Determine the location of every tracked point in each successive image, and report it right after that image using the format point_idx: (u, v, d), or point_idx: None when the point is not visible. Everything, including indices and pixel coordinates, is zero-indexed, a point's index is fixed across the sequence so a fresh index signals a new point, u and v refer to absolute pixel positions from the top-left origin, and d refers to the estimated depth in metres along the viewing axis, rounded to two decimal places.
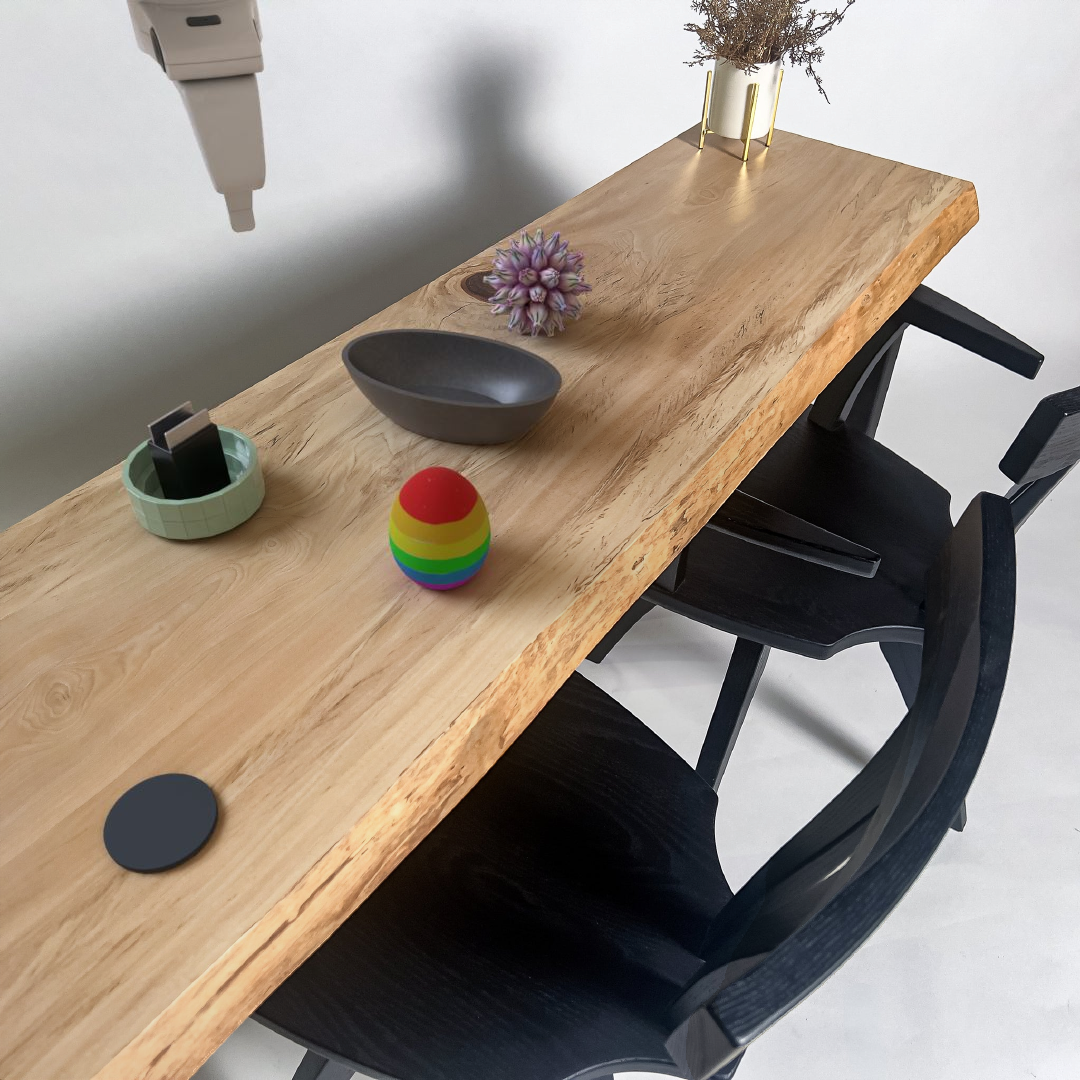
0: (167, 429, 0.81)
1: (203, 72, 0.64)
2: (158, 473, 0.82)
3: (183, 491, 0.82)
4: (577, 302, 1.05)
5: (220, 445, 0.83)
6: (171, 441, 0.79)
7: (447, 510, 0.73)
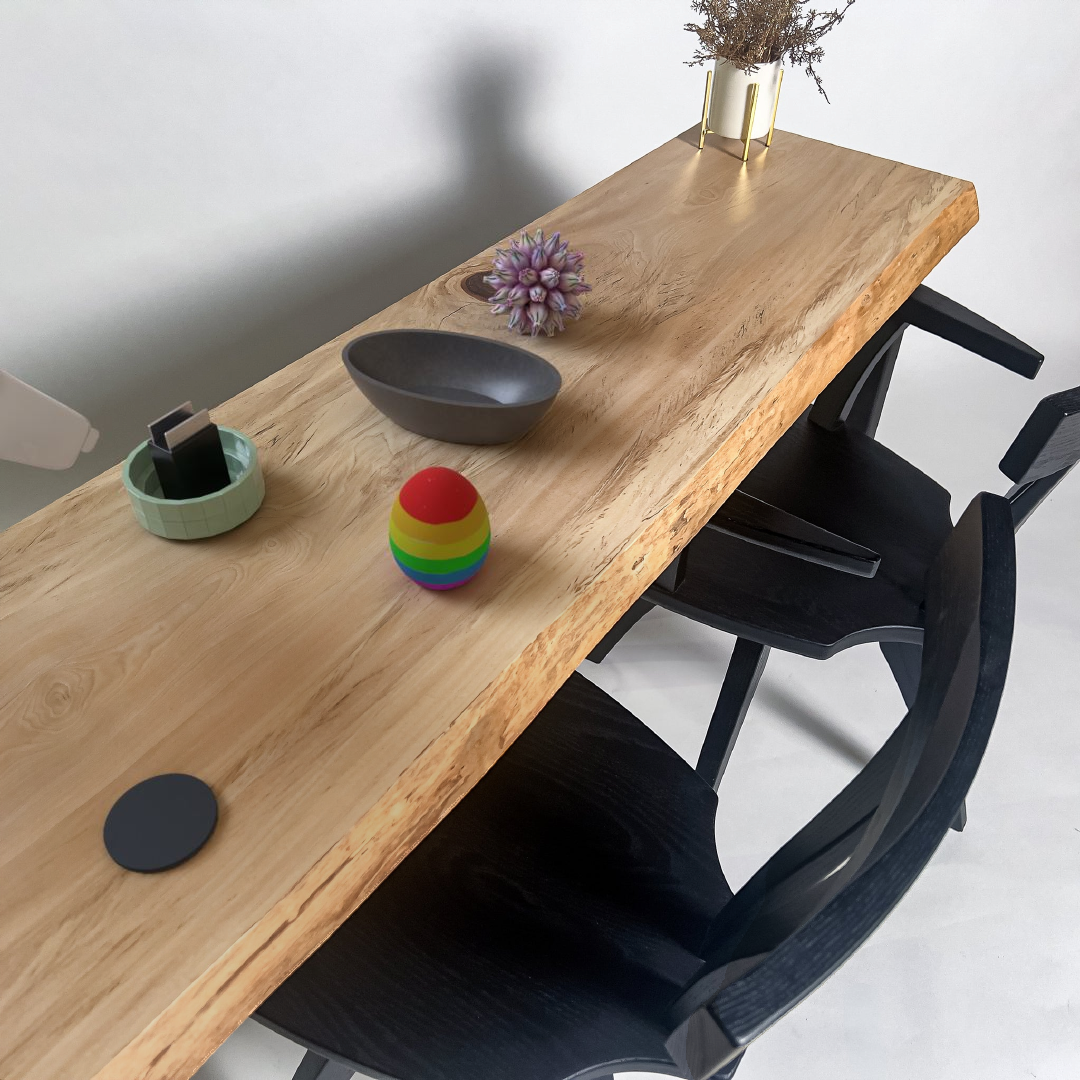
0: (167, 429, 0.81)
1: None
2: (158, 473, 0.82)
3: (183, 491, 0.82)
4: (577, 302, 1.05)
5: (220, 445, 0.83)
6: (171, 441, 0.79)
7: (447, 510, 0.73)
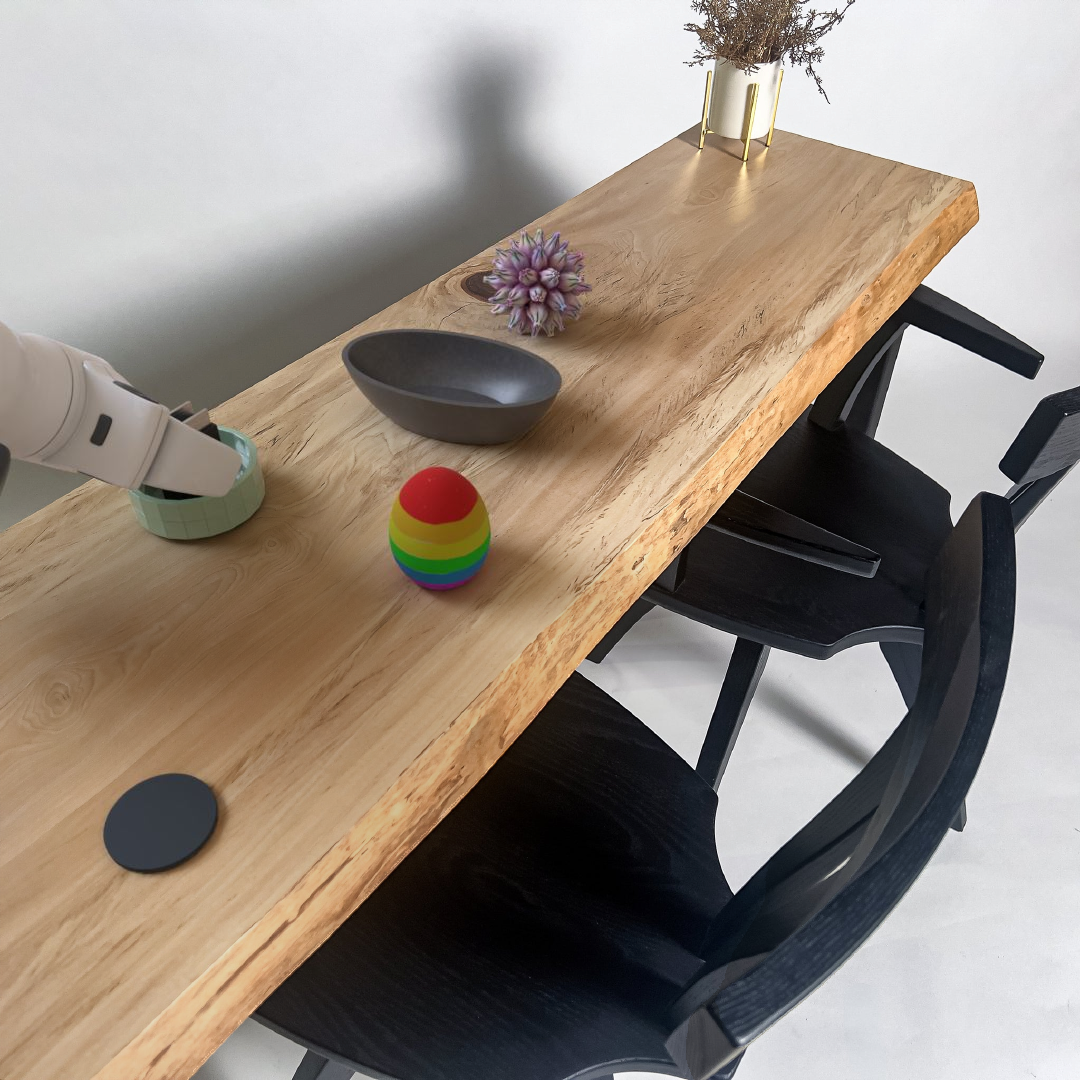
0: None
1: (149, 463, 0.68)
2: None
3: None
4: (577, 302, 1.05)
5: None
6: None
7: (447, 510, 0.73)
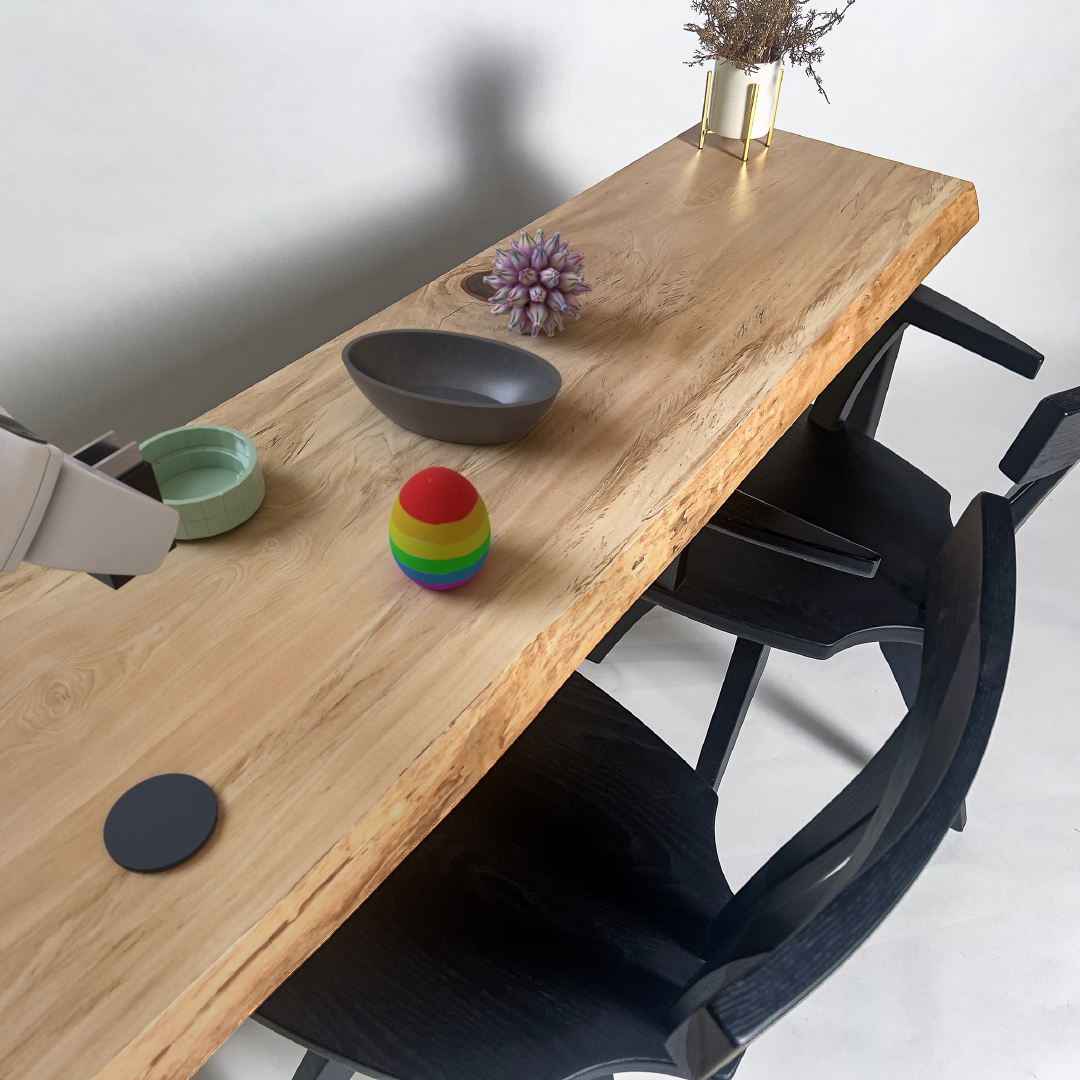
0: None
1: (31, 533, 0.45)
2: None
3: None
4: (577, 302, 1.05)
5: (157, 490, 0.61)
6: None
7: (447, 510, 0.73)
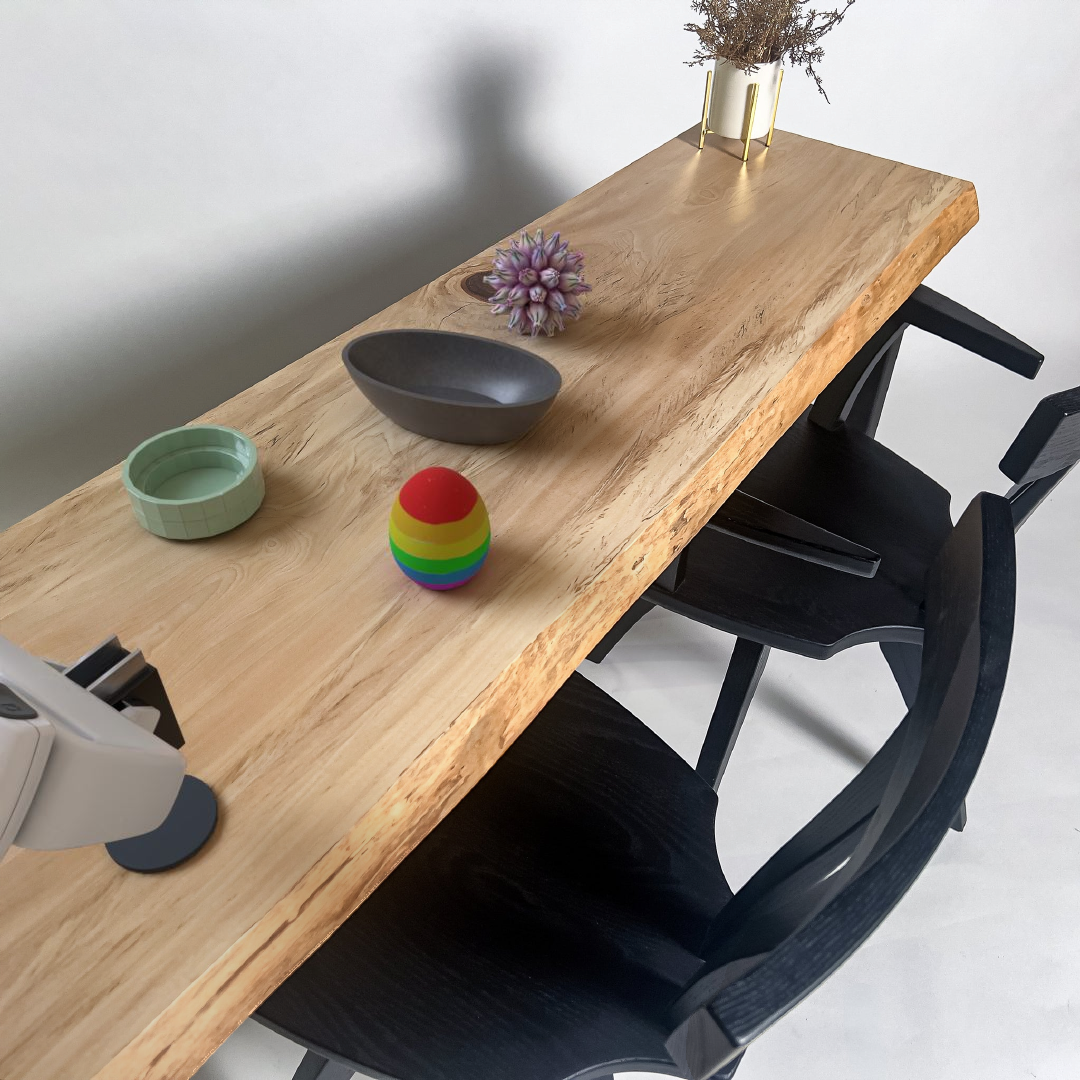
0: (79, 682, 0.53)
1: (19, 821, 0.40)
2: None
3: None
4: (577, 302, 1.05)
5: (163, 694, 0.55)
6: None
7: (447, 510, 0.73)
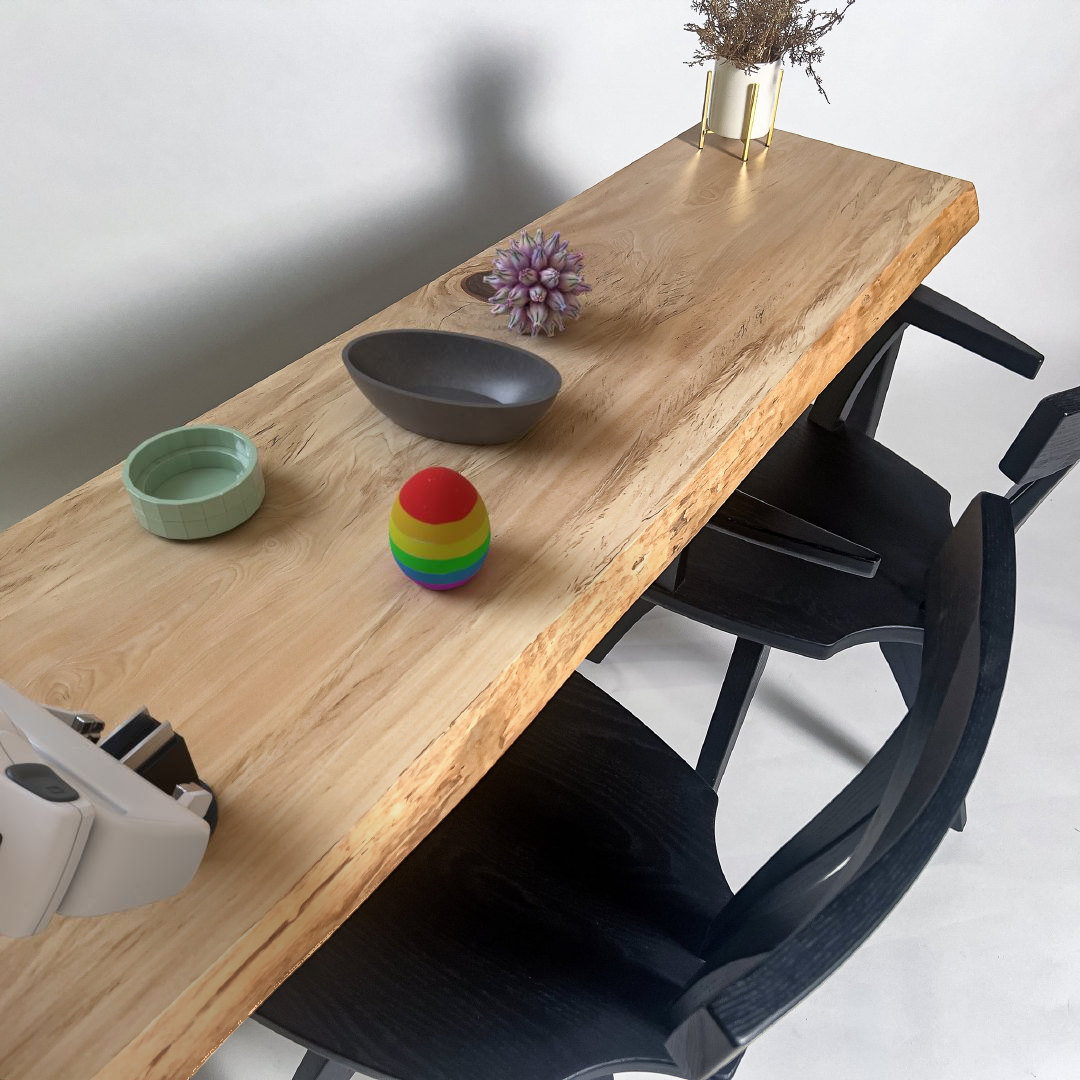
0: (113, 751, 0.57)
1: (62, 893, 0.44)
2: None
3: None
4: (577, 302, 1.05)
5: (189, 759, 0.60)
6: None
7: (447, 510, 0.73)
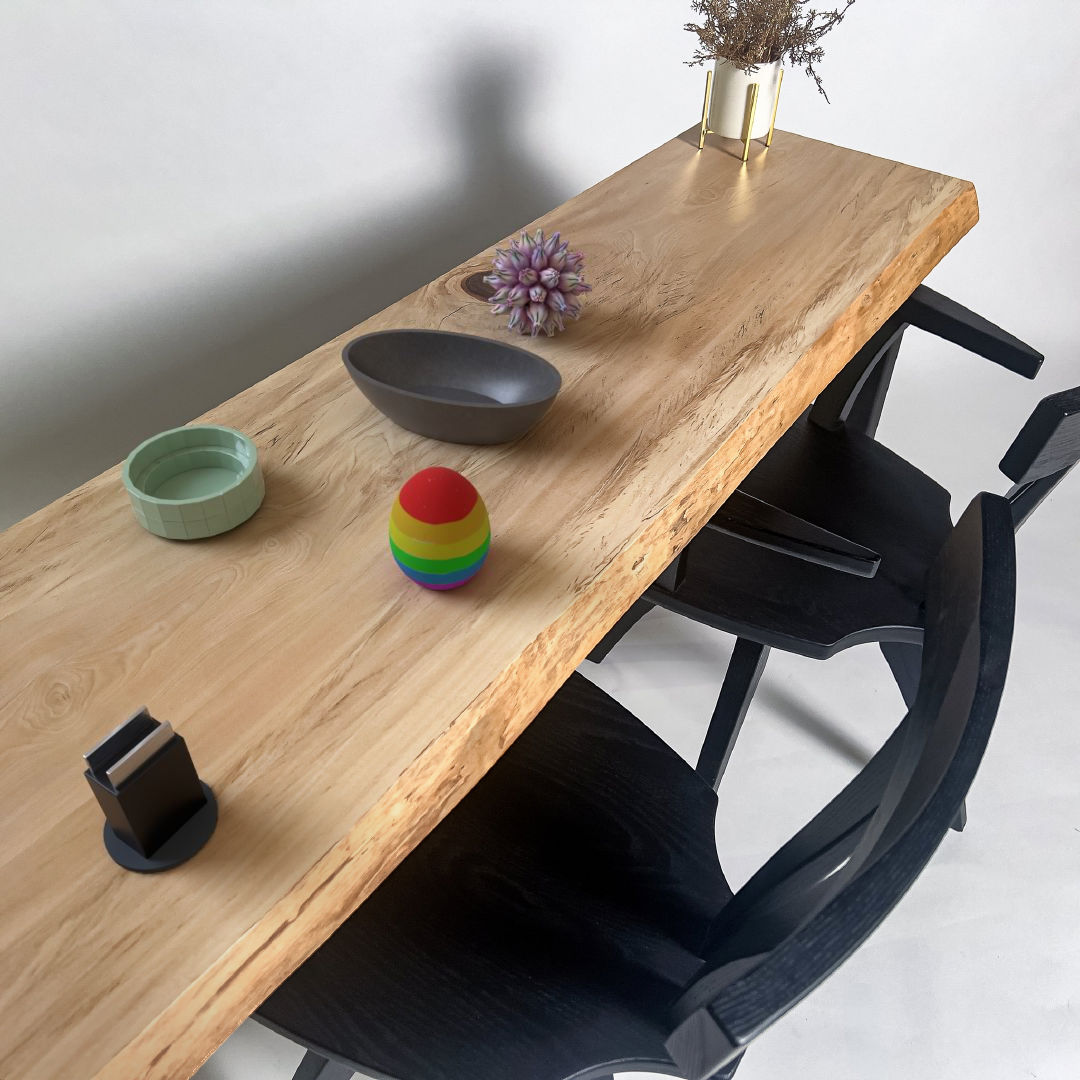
0: (113, 751, 0.57)
1: None
2: (101, 805, 0.59)
3: (135, 834, 0.58)
4: (577, 302, 1.05)
5: (189, 759, 0.60)
6: (116, 780, 0.55)
7: (447, 510, 0.73)
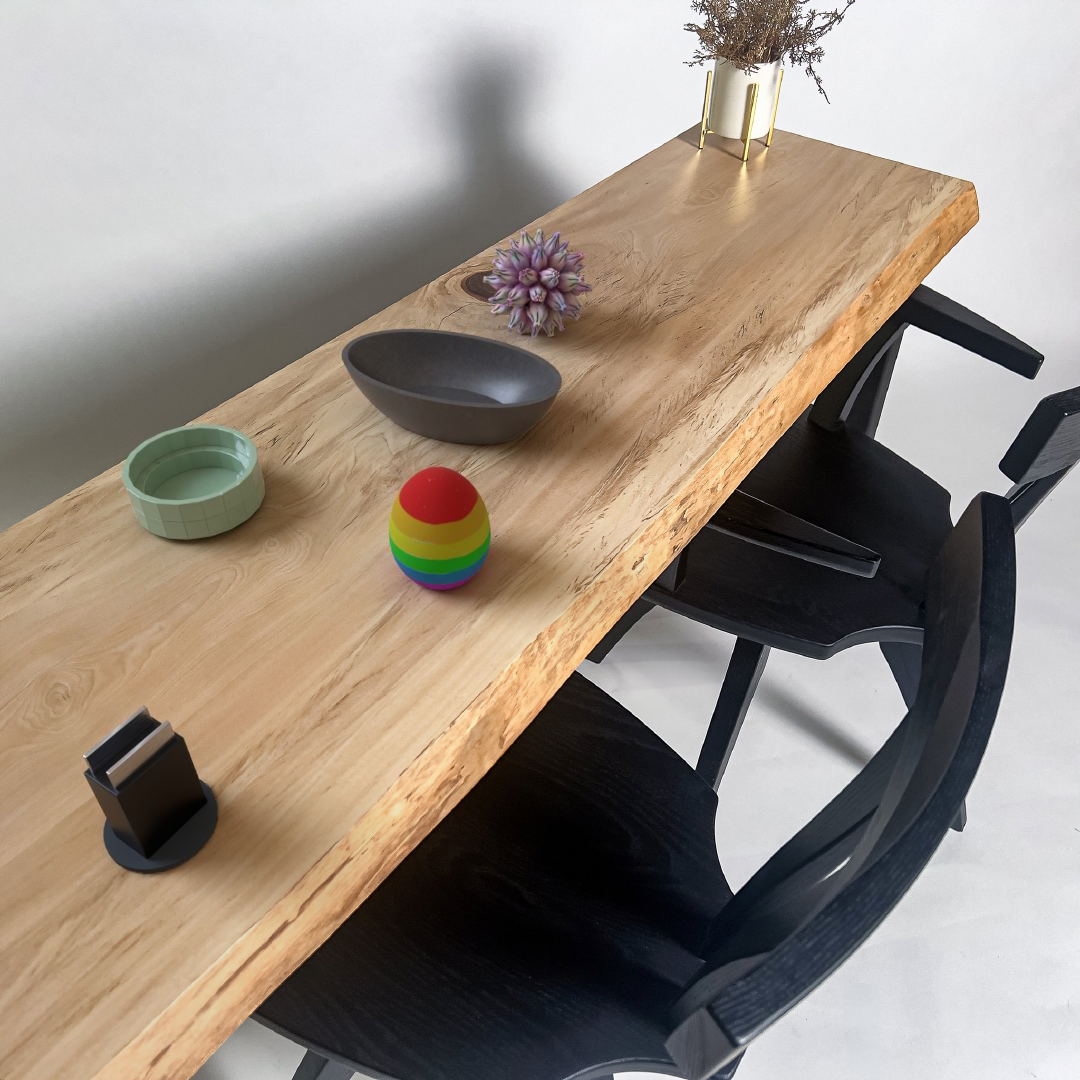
0: (113, 751, 0.57)
1: None
2: (101, 805, 0.59)
3: (135, 834, 0.58)
4: (577, 302, 1.05)
5: (189, 759, 0.60)
6: (116, 780, 0.55)
7: (447, 510, 0.73)
